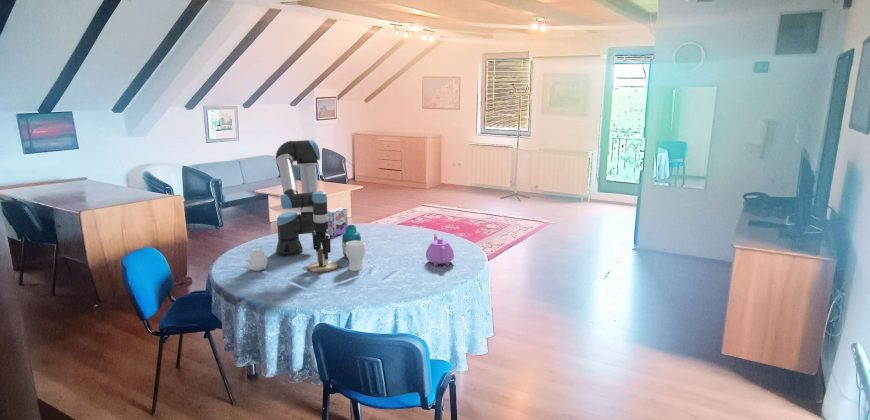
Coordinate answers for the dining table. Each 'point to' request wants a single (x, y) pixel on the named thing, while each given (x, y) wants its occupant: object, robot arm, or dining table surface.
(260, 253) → the figurine
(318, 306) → the dining table surface
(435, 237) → the teapot
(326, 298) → the dining table surface
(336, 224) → the candy box
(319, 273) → the mat
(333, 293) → the dining table surface
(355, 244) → the cup
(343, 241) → the vase
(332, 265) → the lid
